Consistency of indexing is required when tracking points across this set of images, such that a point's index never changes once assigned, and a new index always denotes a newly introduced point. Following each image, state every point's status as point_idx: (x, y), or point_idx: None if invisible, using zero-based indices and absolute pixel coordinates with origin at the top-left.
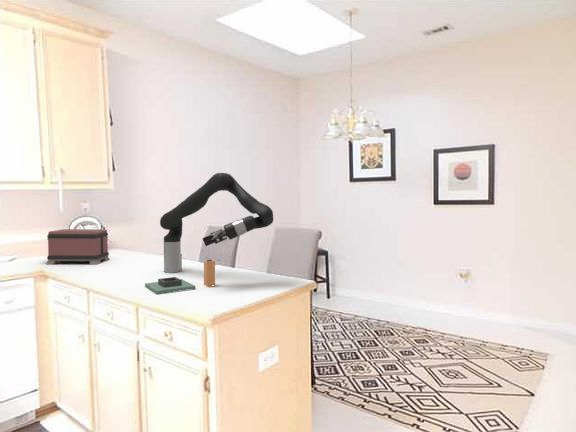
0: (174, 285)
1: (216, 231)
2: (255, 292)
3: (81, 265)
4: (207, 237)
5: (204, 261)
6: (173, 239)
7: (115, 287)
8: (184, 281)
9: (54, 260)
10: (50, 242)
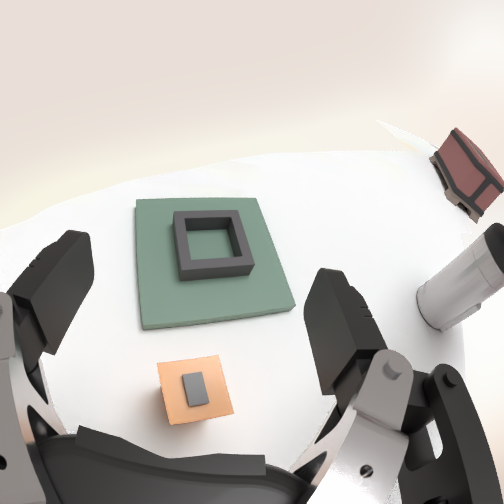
0: (176, 254)
1: (473, 466)
2: None
3: (437, 182)
4: (335, 326)
5: (206, 357)
6: (496, 246)
7: (265, 161)
8: (246, 306)
9: (435, 159)
10: (448, 139)
